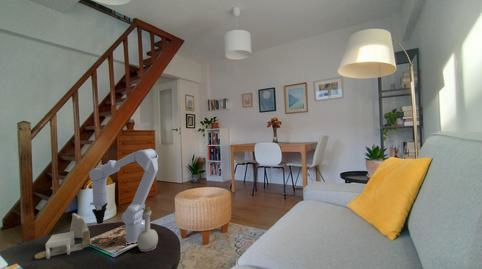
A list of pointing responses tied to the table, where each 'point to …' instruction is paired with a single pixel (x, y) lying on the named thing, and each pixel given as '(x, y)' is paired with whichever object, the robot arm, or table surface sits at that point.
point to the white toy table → (60, 242)
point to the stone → (78, 225)
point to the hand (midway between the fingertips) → (100, 220)
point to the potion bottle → (147, 234)
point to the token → (40, 255)
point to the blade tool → (73, 247)
